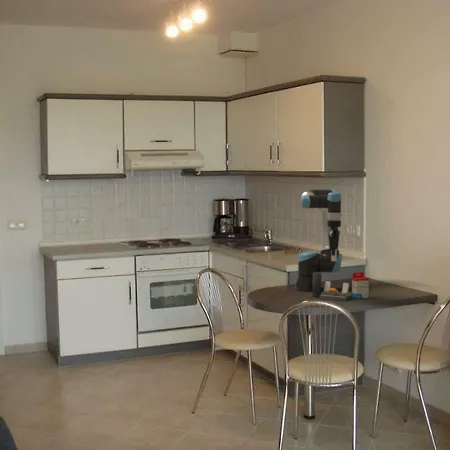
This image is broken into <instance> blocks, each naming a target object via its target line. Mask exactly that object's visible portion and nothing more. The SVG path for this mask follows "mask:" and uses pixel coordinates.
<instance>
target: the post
mask: <svg viewBox="0 0 450 450" xmlns="http://www.w3.org/2000/svg"><path fill="white" fill-rule="evenodd" d="M321 294H322V272H315V273H313V291H312V298H318V299H319V295H321Z"/></svg>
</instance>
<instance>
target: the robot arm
mask: <svg viewBox="0 0 450 450" xmlns="http://www.w3.org/2000/svg"><path fill="white" fill-rule="evenodd" d="M300 206H301V208H302V209H319V212H320V213H321V223H322V224H321V226H322V234H321V235H322V249H321V250H320V253H318V251H317V250H310V251H304V252H300V253H299V254H298V256H297V257H298V258H297V259H298V260H297V264H298V265H297V268H298V269H297V279H296V283H295V287H294V288H295V290H296V291H300V292H313V273H315V272H318V273H331V274H333V273H339V272H341V267H342V261H343V260H342V259H343V258H342V257H343V254H342V253H340V250H339V243H340V233H341V231H340V230H339V228H340V227H341V226H342V215H343V214H342V211H341V210H342V193H340V192H339V191H338V190H337V189H332V188H331V189H310V190H307V191H304V192H303V193H302V194H301V195H300Z"/></svg>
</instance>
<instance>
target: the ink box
mask: <svg viewBox="0 0 450 450" xmlns="http://www.w3.org/2000/svg"><path fill="white" fill-rule="evenodd" d="M351 279H352V280H351V288H352V289H351V295H352V298H351V299H355V300H361V299H368V298H369V288H370V287H369V286H370V285H369V282H370V281H369V280H370V278H369V277H365V272H364V271H359V272H358V271H357V272H352V278H351Z"/></svg>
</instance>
